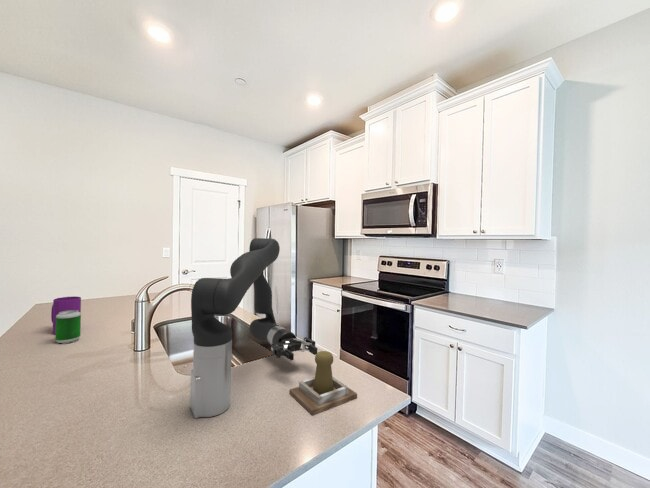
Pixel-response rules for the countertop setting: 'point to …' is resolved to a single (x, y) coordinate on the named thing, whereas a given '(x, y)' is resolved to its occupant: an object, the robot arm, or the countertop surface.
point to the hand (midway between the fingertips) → (304, 354)
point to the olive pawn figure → (323, 373)
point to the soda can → (68, 326)
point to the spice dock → (321, 396)
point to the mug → (64, 307)
